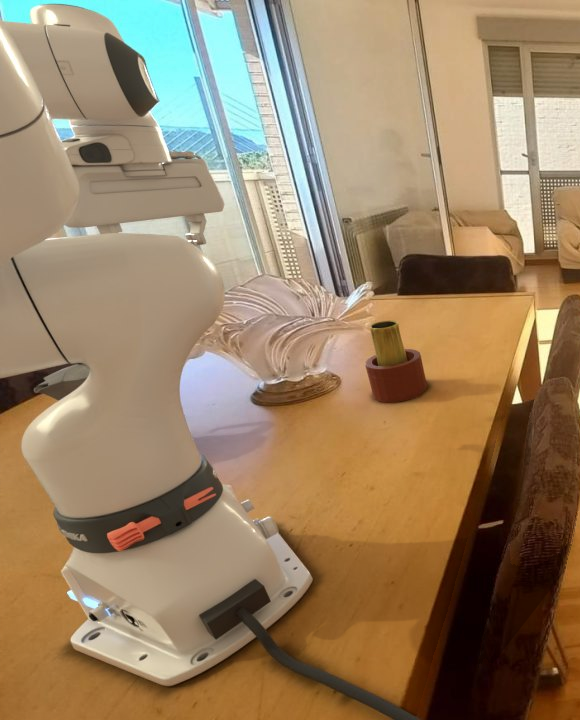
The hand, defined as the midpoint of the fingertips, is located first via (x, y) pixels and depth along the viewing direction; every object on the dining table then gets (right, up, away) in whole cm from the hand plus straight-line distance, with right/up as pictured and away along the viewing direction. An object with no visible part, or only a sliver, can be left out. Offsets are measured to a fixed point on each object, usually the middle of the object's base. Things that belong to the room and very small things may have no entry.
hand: (167, 250), depth 72 cm
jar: (+22, -23, +28) cm, 43 cm away
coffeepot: (-17, -32, +12) cm, 38 cm away
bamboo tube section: (+22, -23, +28) cm, 42 cm away
